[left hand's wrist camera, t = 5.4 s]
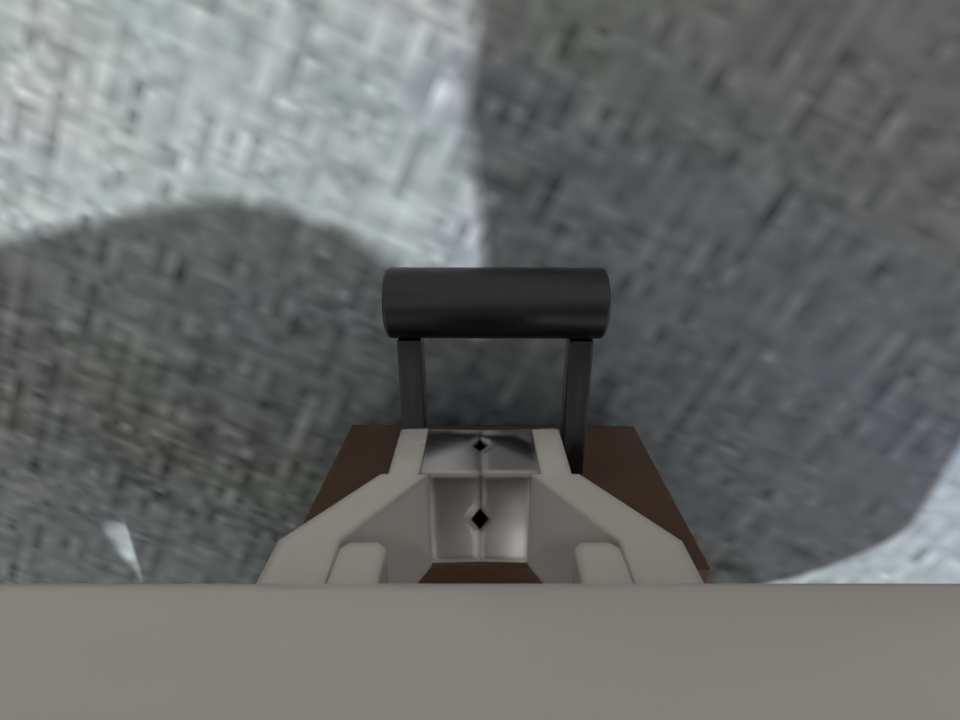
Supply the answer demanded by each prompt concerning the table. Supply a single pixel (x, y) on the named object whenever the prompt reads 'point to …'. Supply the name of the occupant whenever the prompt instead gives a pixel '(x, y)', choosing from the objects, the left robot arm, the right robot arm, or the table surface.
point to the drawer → (589, 449)
